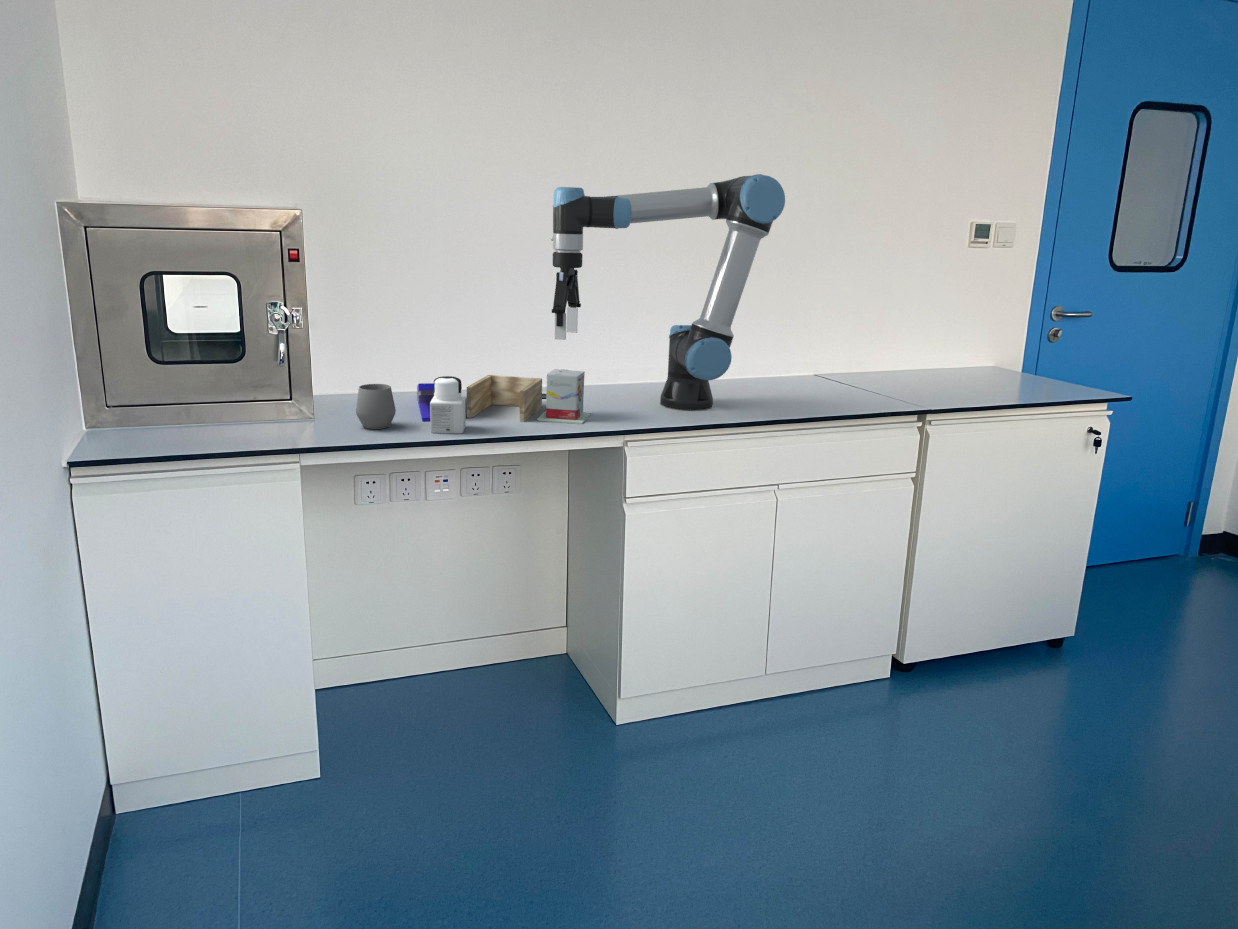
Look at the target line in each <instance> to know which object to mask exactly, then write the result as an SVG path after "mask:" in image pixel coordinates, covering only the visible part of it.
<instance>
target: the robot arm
mask: <svg viewBox="0 0 1238 929" xmlns="http://www.w3.org/2000/svg"><path fill="white" fill-rule="evenodd" d="M585 194H586V193H585V190H584V188H583V187H573V186H558V187H556V188H555V189H554V191H553V205H552V233H553V234H552V236H551V238H550V240H551V242H552V249H553V250H554V251H553V253H552V266H553V267H554V268H559V269H560V271H559V272H558V271H557V272H556V279H555V289H554V296H553V303H552V304H553V305H552V309H551V314H554V340H560V341H561V340H563V341H566V340H567V333H572V334H573V333H574V334H575V333H578V317H579V316H578V312H579V311H578V310H579V309H578V308H581V306H582V304H581V303H580V302H581V301H580V291H579V279H578V278H579V276H578V275H579V274H578V272H579V270H578V269H580V268H582V267H583V253H582V252H581V251H583V250H584V228H595V229H596V228H598V229H599V228H600V229H615V230H618V229H627V228H629V226H630V225H631V224H640V223H641V224H642V223H651V222H663V221H672V220H683V219H692V218H693V219H695V218H705V217H706V218H707V217H708V218H710V219H711V220H712V221H713V220H725V223H726V225H727V227H728V232H727V236H726V238H725V241H724V245H723V247H722V250H721V252H720V256H719V259H718V262H717V266H716V268H715V272H714V275H713V278H712V280H711V283H710V287H709V290H708V292H707V295H706V297H705V298H706V299H705V301H704V304H703V308H702V310H701V313H700V317H699V318H698V319H696V320H694V321H693V322H692V323H691V325H690V324H689V325H688V324H685V325H684V324H675V325H672V326H671V328H670V331H669V335H668V339H669V342H668V365H667V367H668V368H667V377H666V381H665V383H664V386H663V389H662V391H661V394H660V403H659V404H660V406H663V407H665V408H668V409H673V410H678V411H679V410H681V411H703V410H704V411H705V410H709V409H711V408H712V407H713V406H714V404H713V403H714V398H713V393H712V389H711V385H710V381H715V380H716V379H719V378H720V377H722V376H723V375H725V374H726V372H727V371H728V370H729V368H730V366H731V364H732V363H731V362H732V358H733V357H732V351H731V349H730V348H731V346H732V343H733V340H734V337H735V336H734V333H733V330H732V329H731V328H732V324H733V322H734V319H735V315H736V312H737V310H738V306H739V304H740V301H741V298H742V295H743V292H744V289H745V286H746V284H747V281H748V277H749V274H750V271H751V269H752V265H753V262H754V260H755V258H756V253H757V252H758V251H757V250H758V248H759V245H760V242H761V240H762V239H764V238H766V237H767V236H768V235H769V234H770V232H771V228H772V226H773V223H774V221H775V220H777V219H778V218H779V217H780V216H781V214H782V213H783V211H784V208H785V206H786V205H785V204H786V195H785V194H786V193H785V191H784V189H783V186H782V185H781V183H780V182H779V181H778V180H777V179H776V178H774V177H772V176H770V175H765V174H762V173H760V174H759V173H758V174H757V173H756V174H753V175H743V176H739V177H735V178H731V179H728V180H723V181H717V182H716V181H715V182H710V183H709V184H708V185H707V186H706V187H705V186H704V187H696V188H695V187H694V188H685V189H684V188H683V189H675V190H674V189H673V190H672V189H671V190H661V191H654V192H653V191H651V192H641V193H639V192H638V193H629V194H627V193H626V194H619V195H607V196H589V195H585ZM567 305H568V306H567Z"/></svg>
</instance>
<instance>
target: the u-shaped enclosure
mask: <svg viewBox="0 0 1238 929" xmlns="http://www.w3.org/2000/svg"><path fill="white" fill-rule="evenodd" d="M491 405H495V406H496V405H497V406H509V407H511V406H512V407H519V422H526V421H527V420H528V419H529V418H531V417H532V416H533V415H534V414H535V413H536V412H537V411H539V410H540V409H541V408H543V378H539V377H524V376H511V375H510V376H508V375H496V374H495V375H494V374H487V375H485V376H484V377H482V378H480V379H478V380H477V381H475V382H473V383H471V384H470V385H467V386H466V418H469V419H471V418H473V417H475V416H476V415H477V414H479V413H480V412H482V411H483V410H485V409H487V408H488V407H489V406H491Z"/></svg>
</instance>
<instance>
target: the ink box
mask: <svg viewBox="0 0 1238 929" xmlns="http://www.w3.org/2000/svg"><path fill="white" fill-rule="evenodd" d="M585 373H586V372H585V371H583V370H582V371H581V370H570V369H564V368H563V369H562V368H561V369H558V368H554V369H553V370H551V371H548V373H546V401H545V402H546V403H545V406H546V407H545V412H546V418H557V419H570V420H577V419H578V418H579V417H580V416H581V415H582V414H583V412H584V390H585Z"/></svg>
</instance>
